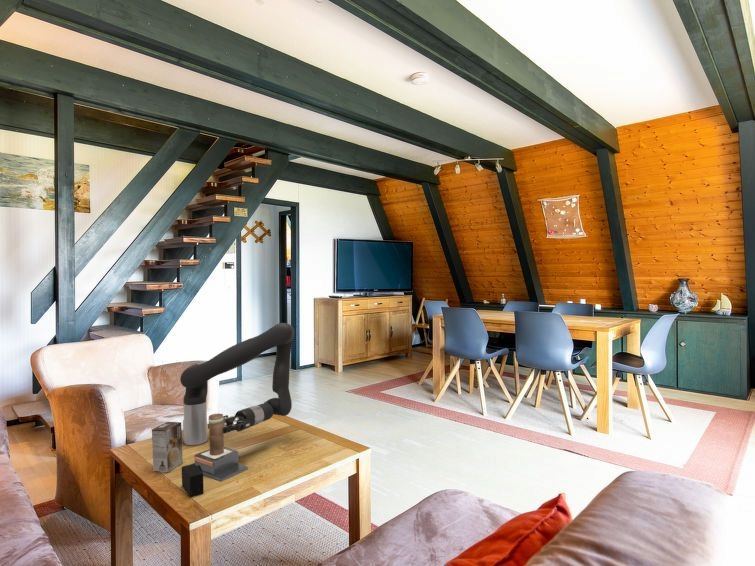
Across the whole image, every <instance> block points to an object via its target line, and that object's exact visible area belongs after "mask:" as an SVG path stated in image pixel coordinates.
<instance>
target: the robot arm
mask: <svg viewBox="0 0 755 566" xmlns="http://www.w3.org/2000/svg"><path fill="white" fill-rule="evenodd" d="M294 336H295V329H294V327H293V325H291V324H290V323H287V322H278V323H277V324H274V325H273V326H272V327H270V328H269V329H267V330H266V331H264V332H262V333H261V334H258V335H256V336H253V337H251V338H248V339H245V340H243V341H241V342H238V343H236V344H234V345H232V346H229V347H228V348H226V349H224V350H222V351H221V352H220V353H218V354H216V355H215V356H213V357H212V358H210V359H208V360H207V361H204V362H202V363H196V364H195V363H194V364H192V365H190V366H189V367H187V368H185V369H184V370H183V371H182V373H181V375H180V384H181V385H182V386H183V387H184V388H185V392H184V395H183V420H182V443H184V444H185V445H187V446H198V445H202V444H205V443H206V442H207V441H208V430H209V423H208V418H207V417H208V416H207V415H208V414H207V413H208V410H207V409H208V408H207V396H208V387H209V386H208V384H209V382H208V381H209V380H212V379H213V378H214V377H217V376H219V375H221V374H225V373H227V372H229V371H232V370H234V369H237V368H239V367H241V366H243V365H246V364H248V363H249V362H251V361H253V360H254V359H255V358H257V357H259V356H260V355H262V354H263V353H264V352H266V351H268V350H271V349H273V348H276V354H275V355H276V356H275V360H274V361H275V362H274V366H273V371H272V387H271V388H272V392H274V393H276V394H277V397H272V398H269V399H268V400H266V401H264V402H263V403H260V404H257V405H253V406H249V407H246V408H243V409H240V410H238V411H237V412H236V413H235V414H234V415H231V416H229V415H228V414H226V415H223V435H225V434H229V433H231V432H238V433H240V432H242V431H245V430H247V429H249V428H251V427H254V426H256V425H259V424H260V423H263V422H265V421H268V420H270V419H271V418H273V415H277V416H280V417H281V416H282V417H286V416H288V415H289V414H290V413H291V410H292V406H293V402H292V398H291V392H290V388H289V387H290V369H291V368H290V365H291V354H292V353H291V352H292V346H293V341H294Z"/></svg>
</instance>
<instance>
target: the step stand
mask: <svg viewBox="0 0 755 566" xmlns="http://www.w3.org/2000/svg"><path fill="white" fill-rule="evenodd" d="M193 461H194V462H193V463H192V464H195V465H196V466H197V465H200V466H201V469H202V473H203V476H205V477H208V478H211V479H213V480H216V481H219V482H223V481H225V480H227V479H230V478H232V477H234V476H236V475H238V474H240V473H242V472H245V471H247V470H248V468H249V467H248V466H247V465H245V464H241V463H240V462H239V450H236V449H232V448H229V447H226V446H224V453H222V454H220V455H210V448H209V449H207V450H204V451H201V452H199V453H196V454H194V460H193Z"/></svg>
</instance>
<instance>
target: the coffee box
mask: <svg viewBox="0 0 755 566" xmlns="http://www.w3.org/2000/svg"><path fill="white" fill-rule="evenodd" d="M151 440H152V441H151V443H152V467H153V468H152V469H153V472H154V471H160V472H159V473H164V472H168V473H170V472H171V471H172V470H174V469H176V468H177V467H178V466H180V465H181V464H183V462H184V461H183V429H182V422H178V421H166V422H164V423H162V424H160V425H158V426H156V427H154V428H152V429H151ZM169 471H170V472H169Z"/></svg>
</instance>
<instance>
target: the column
mask: <svg viewBox="0 0 755 566" xmlns="http://www.w3.org/2000/svg"><path fill="white" fill-rule="evenodd" d="M223 416H224V414H223V413H212V414H210V415H208V424H209V429H208V433H209V434H208V435H209V437H208V439H209V443H208V444H209V449H210V455H220V454H222V453H224V447H225V446H224V445H225V444H224V442H225V440H224V433H223V428H224V427H223Z"/></svg>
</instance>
